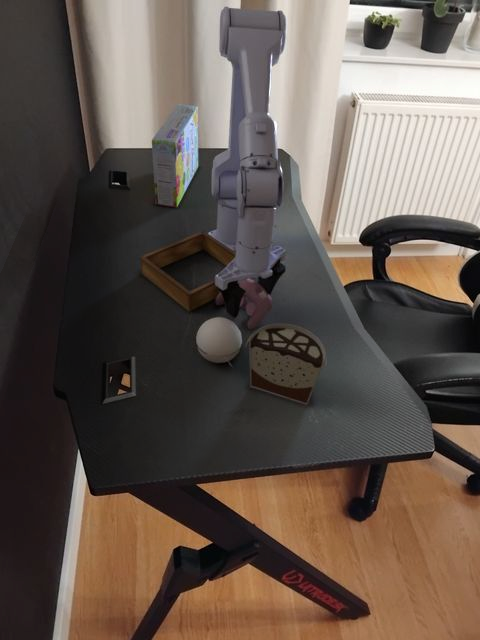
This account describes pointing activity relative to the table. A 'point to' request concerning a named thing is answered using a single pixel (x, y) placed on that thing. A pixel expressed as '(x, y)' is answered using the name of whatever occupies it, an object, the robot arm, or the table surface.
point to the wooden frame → (178, 251)
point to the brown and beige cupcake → (285, 361)
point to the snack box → (175, 155)
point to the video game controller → (259, 301)
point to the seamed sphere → (218, 340)
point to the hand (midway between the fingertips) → (247, 305)
